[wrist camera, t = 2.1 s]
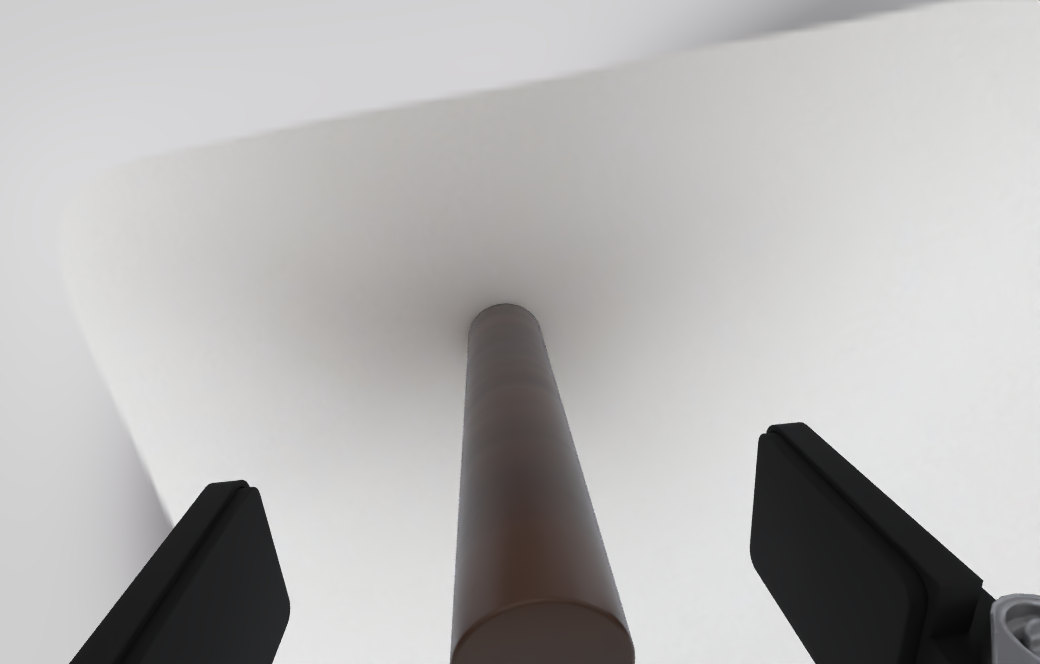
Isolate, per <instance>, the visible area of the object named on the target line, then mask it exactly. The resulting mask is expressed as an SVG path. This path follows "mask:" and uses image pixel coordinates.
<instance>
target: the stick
mask: <svg viewBox="0 0 1040 664" xmlns="http://www.w3.org/2000/svg"><path fill="white" fill-rule="evenodd" d="M450 664H635V649H634V645H633V642H632V638H631V635H630V631H629V628H628V625H627V621H626V618H625V614H624V611H623V608H622V604H621V601H620V597H619V594H618V591H617V587H616V584H615V581H614V577H613V574H612V570H611V567H610V564H609V560H608V557H607V553H606V550H605V547H604V543H603V540H602V536H601V533H600V530H599V526H598V523H597V520H596V516H595V513H594V509H593V506H592V503H591V499H590V496H589V492H588V489H587V486H586V482H585V479H584V475H583V472H582V469H581V465H580V462H579V459H578V455H577V452H576V448H575V445H574V442H573V438H572V435H571V431H570V428H569V425H568V421H567V418H566V415H565V411H564V408H563V404H562V401H561V398H560V394H559V391H558V387H557V384H556V381H555V377H554V374H553V370H552V367H551V364H550V360H549V357H548V354H547V350H546V347H545V343H544V340H543V337H542V333H541V330H540V326H539V324H538V322H537V320H536V319H535V318H534V316H533V315H532V314H531V313H530V312H528V311H527V310H526V309H524V308H522V307H519V306H517V305H513V304H499V305H494V306H491V307H489V308H487V309H485V310H484V311H482V312H481V313H480V314H479V315H478V316H477V317H476V318H475V320H474V321H473V323H472V325H471V327H470V331H469V337H468V354H467V372H466V390H465V407H464V425H463V442H462V460H461V477H460V495H459V513H458V530H457V548H456V565H455V583H454V601H453V618H452V636H451V653H450Z"/></svg>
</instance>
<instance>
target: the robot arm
mask: <svg viewBox="0 0 1040 664" xmlns="http://www.w3.org/2000/svg"><path fill="white" fill-rule="evenodd" d="M750 556H751V560H752V563H753V566H754V568H755V569H756V571H757V573H758V574H759V576H760V577H761V579H762V581H763V582H764V584H765V585H766V587H767V588H768V590H769V592H770V593H771V595H772V596H773V598H774V599H775V601H776V603H777V604H778V606H779V607H780V609H781V610H782V612H783V613H784V615H785V617H786V618H787V620H788V621H789V623H790V624H791V626H792V628H793V629H794V631H795V632H796V634H797V635H798V637H799V639H800V640H801V642H802V643H803V645H804V646H805V648H806V650H807V651H808V653H809V654H810V656H811V657H812V659H813V660H814V662H815V664H1040V596H1038V595H1033V594H1011V595H1006V596H1001V597H1000V598H999V599H997V600H995V599H994V598H993V597H992V596H991V595H990V594H989V593H987V592H986V591H985V590H984V589H983V588H982V583H983V580H982V579H981V578H980V577H979V576H977V575H976V574H975V573H974V572H973V571H972V570H971V569H969V568H968V567H967V566H966V565H965V564H964V563H963V562H962V561H960V560H959V559H958V558H957V557H956V556H955V555H954V554H952V553H951V552H950V551H949V550H948V549H947V548H946V547H945V546H943V545H942V544H941V543H940V542H939V541H938V540H937V539H935V538H934V537H933V536H932V535H931V534H930V533H929V532H928V531H926V530H925V529H924V528H923V527H922V526H921V525H920V524H918V523H917V522H916V521H915V520H914V519H913V518H912V517H911V516H909V515H908V514H907V513H906V512H905V511H904V510H903V509H901V508H900V507H899V506H898V505H897V504H896V503H895V502H894V501H892V500H891V499H890V498H889V497H888V496H887V495H886V494H884V493H883V492H882V491H881V490H880V489H879V488H878V487H876V486H875V485H874V484H873V483H872V482H871V481H870V480H869V479H867V478H866V477H865V476H864V475H863V474H862V473H861V472H859V471H858V470H857V469H856V468H855V467H854V466H853V465H852V464H850V463H849V462H848V461H847V460H846V459H845V458H844V457H842V456H841V455H840V454H839V453H838V452H837V451H836V450H835V449H833V448H832V447H831V446H830V445H829V444H828V443H827V442H825V441H824V440H823V439H822V438H821V437H820V436H819V435H818V434H816V433H815V432H814V431H813V430H812V429H811V428H810V427H808V426H807V425H806V424H804V423H802V422H797V423H787V424H778V425H771V426H770V427H769V428H768V430H767V433H766V434H762V435H760V437H759V441H758V452H757V465H756V477H755V489H754V502H753V514H752V526H751V539H750ZM289 616H290V601H289V597H288V593H287V590H286V586H285V582H284V579H283V575H282V572H281V568H280V564H279V561H278V557H277V554H276V550H275V546H274V543H273V539H272V536H271V532H270V528H269V525H268V521H267V517H266V514H265V510H264V507H263V503H262V499H261V496H260V493H259V490H258V489H257V488H256V487H249V484H248V483H247V482H246V481H244V480H237V481H228V482H218V483H211V484H209V485H208V486H207V487H205V489H204V490H203V491H202V493H201V494H200V495H199V496H198V498H197V499H196V500H195V502H194V503H193V504H192V506H191V507H190V508H189V509H188V511H187V512H186V513H185V515H184V516H183V517H182V518H181V520H180V521H179V522H178V524H177V525H176V526H175V528H174V529H173V530H172V531H171V533H170V534H169V535H168V537H167V538H166V539H165V541H164V542H163V543H162V544H161V546H160V547H159V548H158V550H157V551H156V552H155V553H154V555H153V556H152V557H151V559H150V560H149V561H148V562H147V564H146V565H145V566H144V568H143V569H142V570H141V572H140V573H139V574H138V576H137V577H136V578H135V579H134V581H133V582H132V583H131V585H130V586H129V587H128V588H127V590H126V591H125V592H124V594H123V595H122V596H121V597H120V599H119V600H118V601H117V603H116V604H115V605H114V607H113V608H112V609H111V610H110V612H109V613H108V614H107V616H106V617H105V618H104V620H103V621H102V622H101V623H100V625H99V626H98V627H97V628H96V630H95V631H94V633H93V634H92V635H91V636H90V638H89V639H88V640H87V641H86V643H85V644H84V645H83V647H82V648H81V649H80V650H79V652H78V653H77V654H76V656H75V657H74V658H73V660H72V661H71V662H70V663H69V664H272V662H273V660H274V657H275V655H276V652H277V650H278V647H279V644H280V642H281V639H282V637H283V634H284V632H285V629H286V627H287V624H288V621H289Z"/></svg>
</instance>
